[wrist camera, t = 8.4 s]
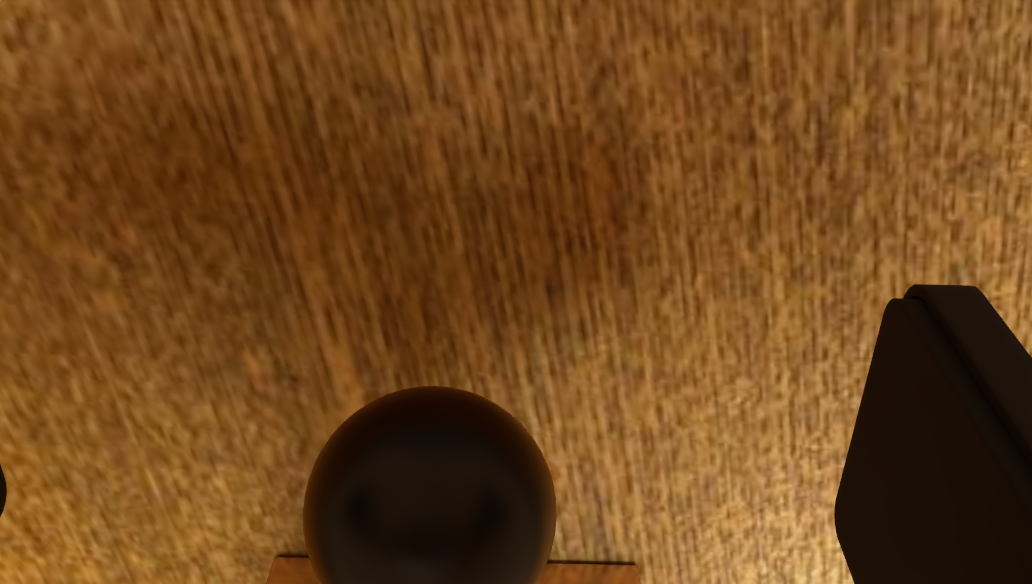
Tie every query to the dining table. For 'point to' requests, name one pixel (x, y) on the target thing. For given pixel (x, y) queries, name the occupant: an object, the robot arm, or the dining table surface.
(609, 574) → the switch bracket
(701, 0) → the dining table surface
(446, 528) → the switch lever
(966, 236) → the dining table surface
